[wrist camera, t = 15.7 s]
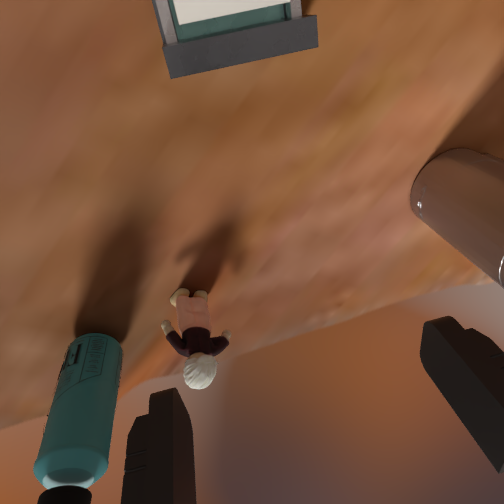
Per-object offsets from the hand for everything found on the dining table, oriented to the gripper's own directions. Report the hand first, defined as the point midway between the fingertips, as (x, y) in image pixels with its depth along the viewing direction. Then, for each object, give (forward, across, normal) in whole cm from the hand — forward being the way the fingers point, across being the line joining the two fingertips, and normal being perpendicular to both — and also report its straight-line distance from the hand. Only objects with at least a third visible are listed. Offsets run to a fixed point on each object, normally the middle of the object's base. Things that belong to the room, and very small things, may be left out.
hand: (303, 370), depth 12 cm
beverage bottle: (+28, +20, +22) cm, 41 cm away
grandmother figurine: (+28, +7, +19) cm, 35 cm away
